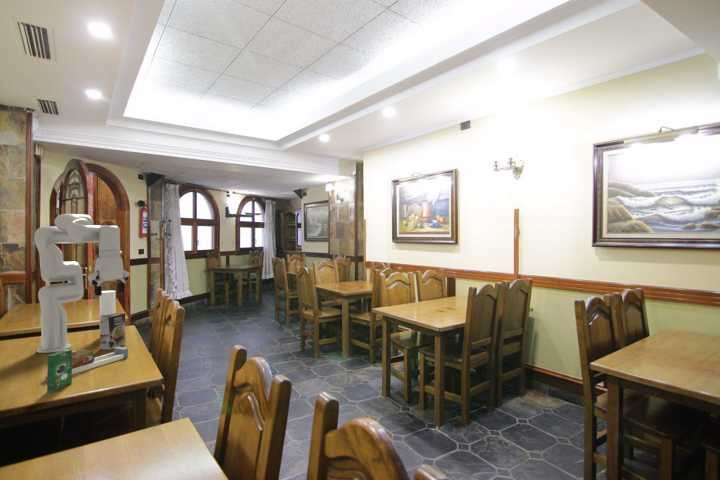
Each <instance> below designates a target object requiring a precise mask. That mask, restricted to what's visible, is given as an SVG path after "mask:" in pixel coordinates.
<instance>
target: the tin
mask: <svg viewBox="0 0 720 480" xmlns="http://www.w3.org/2000/svg"><path fill="white" fill-rule="evenodd" d="M95 358H96V357H95V353H94V352H93V351H92V350H90V349H87V348H86V349H85V348H82V349H76V350H72V369H74V368H77V367H80V366H84V365H87V364H90V363H93V362H94V359H95Z"/></svg>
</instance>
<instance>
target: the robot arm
mask: <svg viewBox="0 0 720 480" xmlns="http://www.w3.org/2000/svg"><path fill="white" fill-rule="evenodd" d="M120 229H121V228H120V227H119V226H118V225H99V224H94V219H93V218H92V217H91V216H90V215H88V214H86V213H85V214H83V213H61V214H59V215H57V216H56V217H55V219H54V225H53V226H52V225H47V226H41V227H38V228H37V229H36V230H35V233H34V244H35V246H36V248H37V251H38V253H39V254H38V255H39V264H40V265H39V266H40V277H41V280H43V282H47V283H49V282H50V283H51V282H65V281H67V282H66V283H55V284H48V285H45V286H42V287H40V288H39V290H38V293H37V297H38V301H39V306H40V318H41V319H40V323H41V325H40V326H41V330H40V331H41V335H40V336H41V339H40V340H41V341H40V344H41V345H40V346H41V347H38V348H37V349H36V352H37V353H39V354H53V353H57V352H60V351H62V350H65V349H70V348H71V347H72V344H71V343H68V320H67V318H68V313H67V310H66V308H64V306H62V304H66V303H72V302H77V301H81V300H82V298H83V297H84V291H85V290H84V280H83V279H84V278H83V270H82V269H83V268H82V266H81V265H80V263H79V262H77V261H74V260H73V261H72V260H70V261H68V260H67V261H64V259H63V258H64V257H63V251H62V250H61V249H60V247H58V246H57V245H56V244H59V245H60V244H65V245H66V244H69V245H70V244H77V243H81V244H87V243H89V244H90V243H91V244H92V243H94V244H95V243H97V244H98V257H97V258H96V261H95V265H94V272H93V273H91V274H90V275H88V276H87V278H88V279H87V280H88V281H89V283H90V284H91V285H92V286H93V287H94V295H95V296H97V297H98V296H99V297H100V296H101V295H102V291H103V290H102V288H103V287H102V283H103V282H109V281H117V282H118V283H117V292H118V293H125V284H126V283H127V280H128V279H129V277H130V274H131V273H130V272H129V271H128V270H125V269H124V263H123V258H122V256H121V255H122V254H123V251H122V250H121V230H120Z"/></svg>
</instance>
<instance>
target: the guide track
mask: <svg viewBox="0 0 720 480" xmlns="http://www.w3.org/2000/svg"><path fill="white" fill-rule="evenodd" d="M125 358H129V348H127V347H123V346H120V347H115V348H114V349H113V352H109V353H106V354H103V355H100V356H97V357H95V359H94V362H93V363H90V364H87V365H84V366H80V367H77V368H74V369H72V375H76V374H79V373H82V372H85V371H87V370H91V369H93V368H97V367H101V366H104V365H106V364H110V363H114V362H116V361H119V360H123V359H125Z"/></svg>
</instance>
